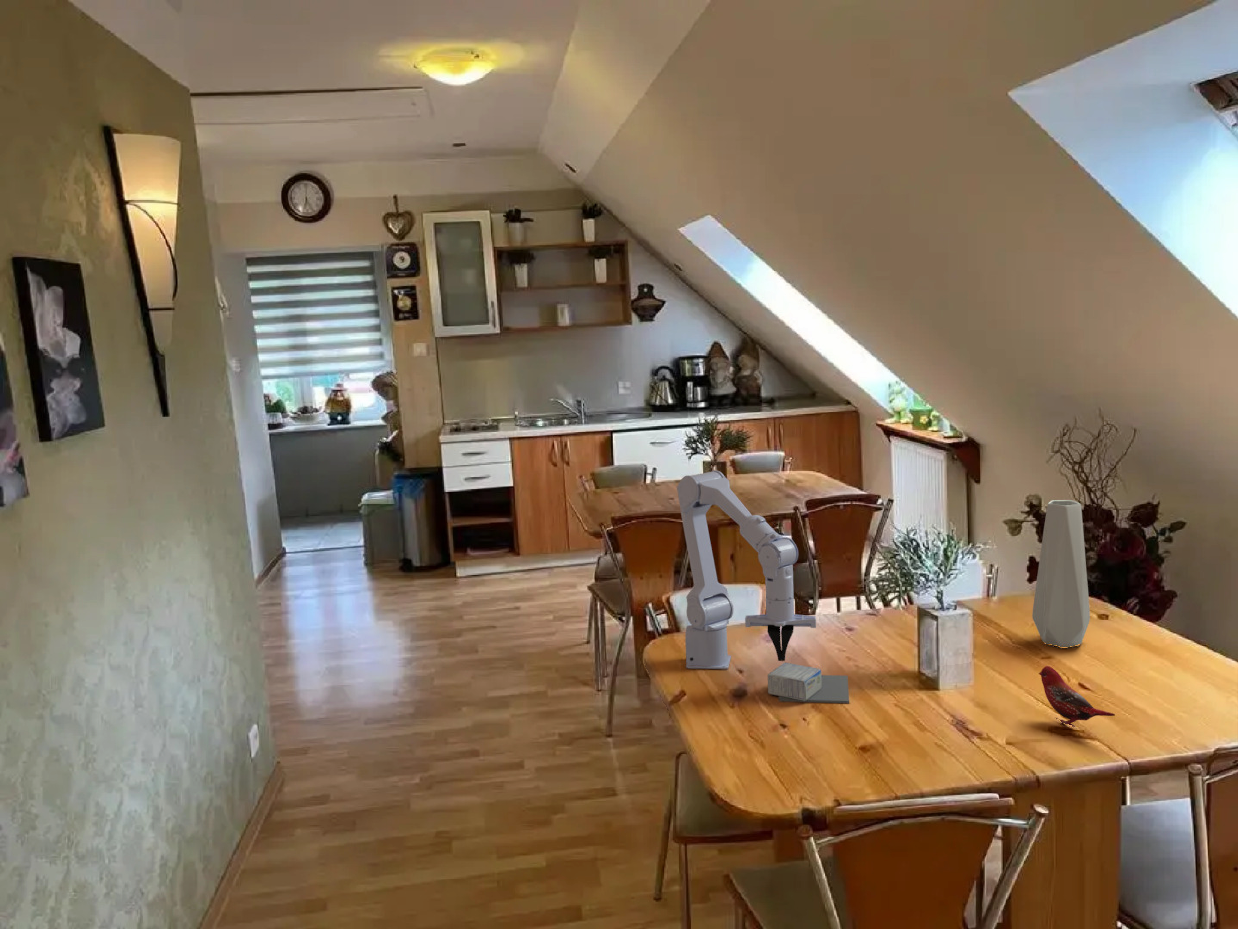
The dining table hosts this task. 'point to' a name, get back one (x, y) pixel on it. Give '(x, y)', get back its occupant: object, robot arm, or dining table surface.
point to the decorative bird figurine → (1067, 698)
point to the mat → (828, 691)
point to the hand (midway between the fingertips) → (781, 659)
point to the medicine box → (794, 681)
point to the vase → (1062, 577)
